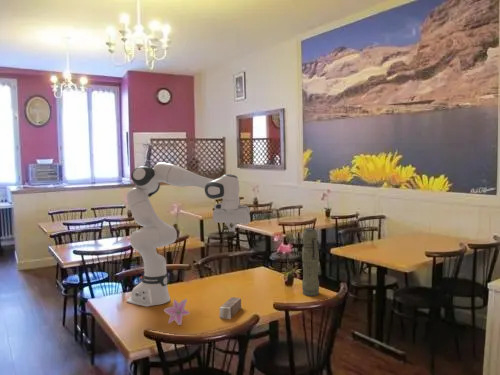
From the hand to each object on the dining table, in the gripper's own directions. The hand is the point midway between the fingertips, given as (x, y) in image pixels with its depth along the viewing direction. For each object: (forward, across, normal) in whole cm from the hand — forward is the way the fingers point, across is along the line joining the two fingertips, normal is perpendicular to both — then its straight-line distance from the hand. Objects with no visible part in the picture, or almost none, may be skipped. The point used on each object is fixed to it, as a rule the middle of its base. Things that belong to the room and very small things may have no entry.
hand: (231, 231), depth 228 cm
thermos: (+35, -38, -17) cm, 55 cm away
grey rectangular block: (+33, -8, +15) cm, 37 cm away
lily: (+35, +11, +39) cm, 54 cm away
